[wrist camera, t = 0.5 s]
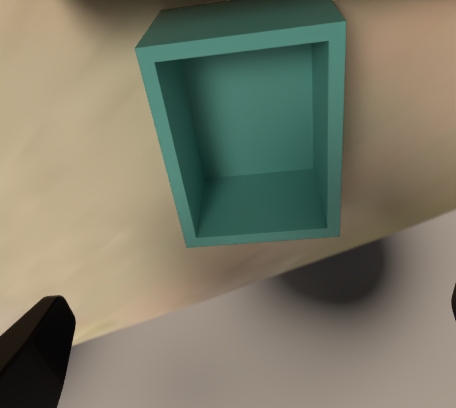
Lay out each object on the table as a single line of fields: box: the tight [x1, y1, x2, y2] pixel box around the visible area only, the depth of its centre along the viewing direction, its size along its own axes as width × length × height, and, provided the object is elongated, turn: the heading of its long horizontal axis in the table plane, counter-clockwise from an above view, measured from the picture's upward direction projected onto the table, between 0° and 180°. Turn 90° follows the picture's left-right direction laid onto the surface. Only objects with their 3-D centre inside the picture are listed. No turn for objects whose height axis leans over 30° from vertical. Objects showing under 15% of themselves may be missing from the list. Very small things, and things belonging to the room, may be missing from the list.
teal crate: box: [135, 0, 346, 248], centre depth 17 cm, size 6×8×5 cm
